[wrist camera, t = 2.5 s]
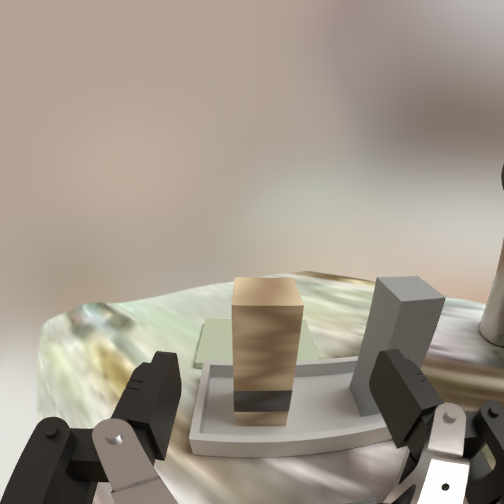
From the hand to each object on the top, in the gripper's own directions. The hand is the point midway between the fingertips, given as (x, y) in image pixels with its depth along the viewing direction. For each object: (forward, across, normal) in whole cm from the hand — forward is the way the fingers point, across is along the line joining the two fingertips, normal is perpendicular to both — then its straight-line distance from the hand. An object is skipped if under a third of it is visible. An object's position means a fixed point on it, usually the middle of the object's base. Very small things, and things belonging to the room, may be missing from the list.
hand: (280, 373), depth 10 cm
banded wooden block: (+12, 0, +16) cm, 19 cm away
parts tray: (+12, -7, +16) cm, 21 cm away
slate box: (+12, -13, +16) cm, 23 cm away
